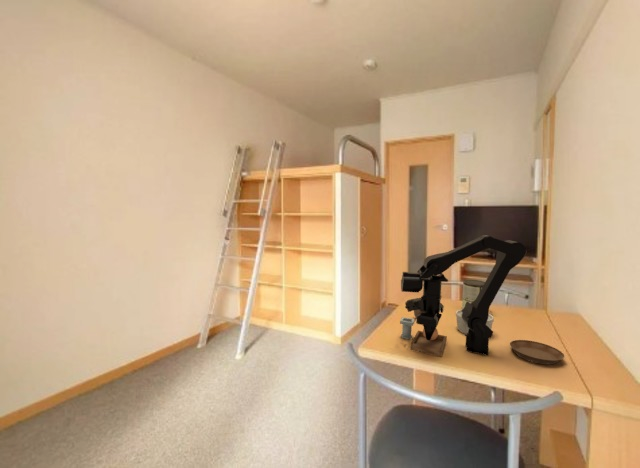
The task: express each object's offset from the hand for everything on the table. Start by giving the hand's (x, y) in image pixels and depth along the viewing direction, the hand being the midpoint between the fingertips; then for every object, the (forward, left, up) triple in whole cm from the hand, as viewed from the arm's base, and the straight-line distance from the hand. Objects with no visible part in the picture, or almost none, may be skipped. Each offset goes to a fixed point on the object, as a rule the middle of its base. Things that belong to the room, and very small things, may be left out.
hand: (429, 337), depth 109 cm
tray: (0, 0, -3) cm, 3 cm away
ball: (0, 0, +2) cm, 2 cm away
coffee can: (-12, -48, -3) cm, 50 cm away
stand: (+9, -3, -3) cm, 10 cm away
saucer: (-32, -10, -4) cm, 34 cm away
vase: (+7, -25, -3) cm, 27 cm away
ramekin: (-13, -22, -4) cm, 26 cm away
